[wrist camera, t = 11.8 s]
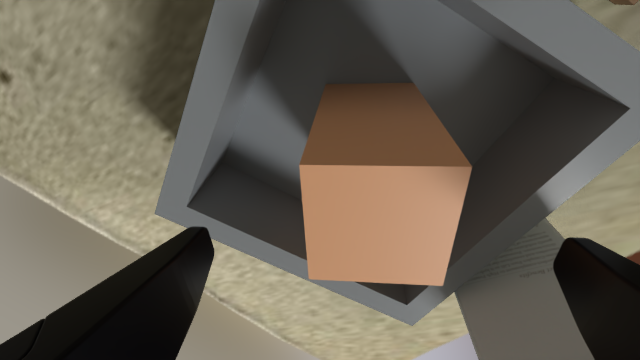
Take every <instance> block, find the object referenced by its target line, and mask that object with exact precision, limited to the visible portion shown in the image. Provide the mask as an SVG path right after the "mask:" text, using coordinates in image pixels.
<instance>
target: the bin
mask: <svg viewBox="0 0 640 360" xmlns="http://www.w3.org/2000/svg"><path fill="white" fill-rule="evenodd" d="M367 83H414V84H415V85H416V87H417V88H418V90H419V91H420V93H421V94H422V95H423V97H424V98H425V100H426V101H427V103H428V104H429V105H430V107H431V108H432V110H433V111H434V113H435V114H436V115H437V117H438V118H439V120H440V121H441V123H442V124H443V126H444V127H445V128H446V130H447V131H448V133H449V134H450V136H451V137H452V138H453V140H454V141H455V143H456V144H457V146H458V147H459V148H460V150H461V151H462V153H463V154H464V156H465V157H466V159H467V160H468V161H469V163H470V164H471V166H472V170H471V174H470V178H469V182H468V186H467V190H466V194H465V198H464V202H463V207H462V211H461V215H460V219H459V223H458V227H457V231H456V235H455V239H454V243H453V247H452V251H451V255H450V259H449V263H448V267H447V271H446V275H445V279H444V283H443V286H433V285H413V284H393V283H373V282H353V281H333V280H313V279H309V276H308V264H307V252H306V240H305V228H304V216H303V204H302V192H301V180H300V168H299V164H300V161H301V158H302V155H303V152H304V149H305V146H306V143H307V140H308V137H309V134H310V130H311V127H312V124H313V121H314V118H315V115H316V112H317V109H318V106H319V103H320V100H321V97H322V94H323V91H324V88H325V85H326V84H367ZM639 141H640V51H638V50H637V49H635V48H634V47H633V46H631V45H630V44H629V43H627V42H626V41H624V40H623V39H622V38H620V37H619V36H618V35H616V34H615V33H613V32H612V31H611V30H609V29H608V28H607V27H605V26H604V25H602V24H601V23H600V22H598V21H597V20H596V19H594V18H593V17H591V16H590V15H589V14H587V13H586V12H585V11H583V10H582V9H580V8H579V7H578V6H576V5H575V4H573V3H572V2H571V1H569V0H215V2H214V6H213V9H212V13H211V16H210V20H209V24H208V27H207V31H206V34H205V38H204V41H203V45H202V48H201V52H200V55H199V59H198V62H197V66H196V69H195V73H194V76H193V80H192V83H191V87H190V91H189V94H188V98H187V101H186V105H185V108H184V112H183V115H182V119H181V122H180V126H179V129H178V133H177V136H176V140H175V143H174V147H173V150H172V154H171V158H170V161H169V165H168V168H167V172H166V175H165V179H164V182H163V186H162V189H161V193H160V196H159V200H158V203H157V207H156V210H155V214H156V215H159V216H161V217H163V218H165V219H168V220H170V221H172V222H175V223H177V224H179V225H182V226H184V227H186V228H189V227H192V226H200V227H206V228H207V229H208V231H209V234H210V237H211V239H214V240H216V241H218V242H221V243H223V244H225V245H227V246H230V247H232V248H234V249H237V250H239V251H241V252H244V253H246V254H248V255H250V256H253V257H255V258H257V259H260V260H262V261H264V262H267V263H269V264H271V265H273V266H276V267H278V268H280V269H283V270H285V271H287V272H289V273H292V274H294V275H296V276H299V277H301V278H303V279H306V280H308V281H310V282H312V283H315V284H317V285H319V286H322V287H324V288H326V289H329V290H331V291H333V292H335V293H338V294H340V295H342V296H345V297H347V298H349V299H352V300H354V301H356V302H358V303H361V304H363V305H365V306H368V307H370V308H372V309H374V310H377V311H379V312H381V313H384V314H386V315H388V316H391V317H393V318H395V319H397V320H400V321H402V322H404V323H407V324H409V325H411V326H413V325H414V324H415V323H416V322H418V321H419V320H420V319H421V318H423V317H424V316H425V315H426V314H427V313H429V312H430V311H431V310H432V309H434V308H435V307H436V306H437V305H439V304H440V303H441V302H442V301H443V300H445V299H446V298H447V297H448V296H450V295H451V294H452V293H453V292H455V291H456V290H457V289H458V288H459V287H461V286H462V285H463V284H464V283H466V282H467V281H468V280H469V279H471V278H472V277H473V276H474V275H475V274H477V273H478V272H479V271H480V270H482V269H483V268H484V267H485V266H486V265H488V264H489V263H490V262H491V261H493V260H494V259H495V258H496V257H498V256H499V255H500V254H501V253H502V252H504V251H505V250H506V249H507V248H509V247H510V246H511V245H512V244H514V243H515V242H516V241H517V240H518V239H520V238H521V237H522V236H523V235H525V234H526V233H527V232H528V231H530V230H531V229H532V228H533V227H534V226H536V225H537V224H538V223H539V222H541V221H542V220H543V219H544V218H546V217H547V216H548V215H549V214H550V213H552V212H553V211H554V210H555V209H557V208H558V207H559V206H560V205H561V204H563V203H564V202H565V201H566V200H568V199H569V198H570V197H571V196H573V195H574V194H575V193H576V192H577V191H579V190H580V189H581V188H582V187H584V186H585V185H586V184H587V183H589V182H590V181H591V180H592V179H593V178H595V177H596V176H597V175H598V174H600V173H601V172H602V171H603V170H605V169H606V168H607V167H608V166H609V165H611V164H612V163H613V162H614V161H616V160H617V159H618V158H619V157H620V156H622V155H623V154H624V153H625V152H627V151H628V150H629V149H630V148H632V147H633V146H634V145H635V144H636V143H638V142H639Z"/></svg>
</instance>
